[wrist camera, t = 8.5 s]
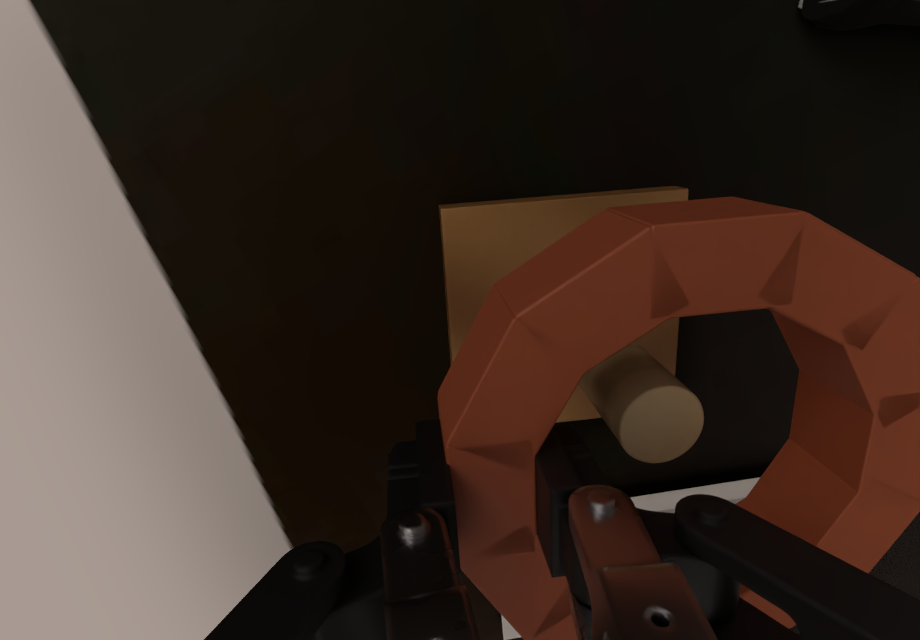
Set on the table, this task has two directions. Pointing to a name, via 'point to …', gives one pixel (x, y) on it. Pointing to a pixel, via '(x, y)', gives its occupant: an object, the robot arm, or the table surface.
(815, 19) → the electric trimmer
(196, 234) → the table surface
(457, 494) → the ring
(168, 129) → the table surface
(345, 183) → the table surface
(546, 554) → the robot arm
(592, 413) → the stand
